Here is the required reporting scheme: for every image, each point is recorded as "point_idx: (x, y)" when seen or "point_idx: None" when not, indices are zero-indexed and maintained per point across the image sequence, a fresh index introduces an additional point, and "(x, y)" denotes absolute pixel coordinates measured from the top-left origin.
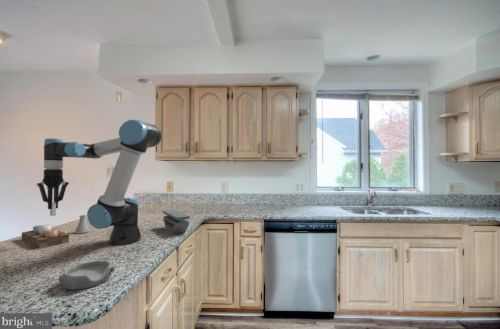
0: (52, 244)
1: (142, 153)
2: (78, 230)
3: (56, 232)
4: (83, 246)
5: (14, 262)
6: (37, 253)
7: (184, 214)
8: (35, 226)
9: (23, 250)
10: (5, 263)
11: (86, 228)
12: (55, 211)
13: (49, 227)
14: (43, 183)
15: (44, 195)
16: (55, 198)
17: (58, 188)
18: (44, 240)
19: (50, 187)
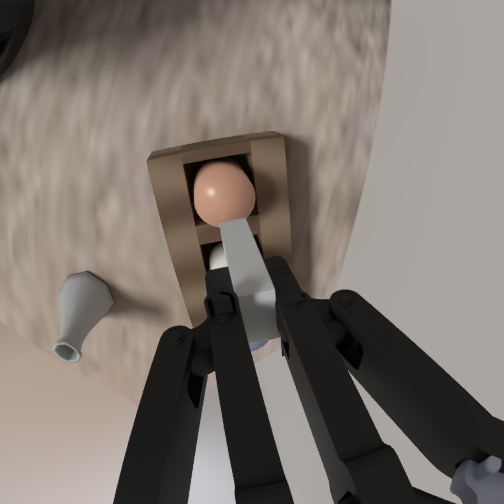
0: (223, 138)
1: None
2: (97, 292)
3: (205, 174)
4: (122, 27)
5: (368, 19)
6: (295, 59)
7: None
8: (260, 341)
9: (321, 150)
10: (386, 34)
11: (66, 290)
12: (225, 239)
13: (224, 265)
14: (483, 495)
15: (402, 344)
16: (248, 344)
17: (243, 491)
18: (262, 138)
19: (399, 471)
